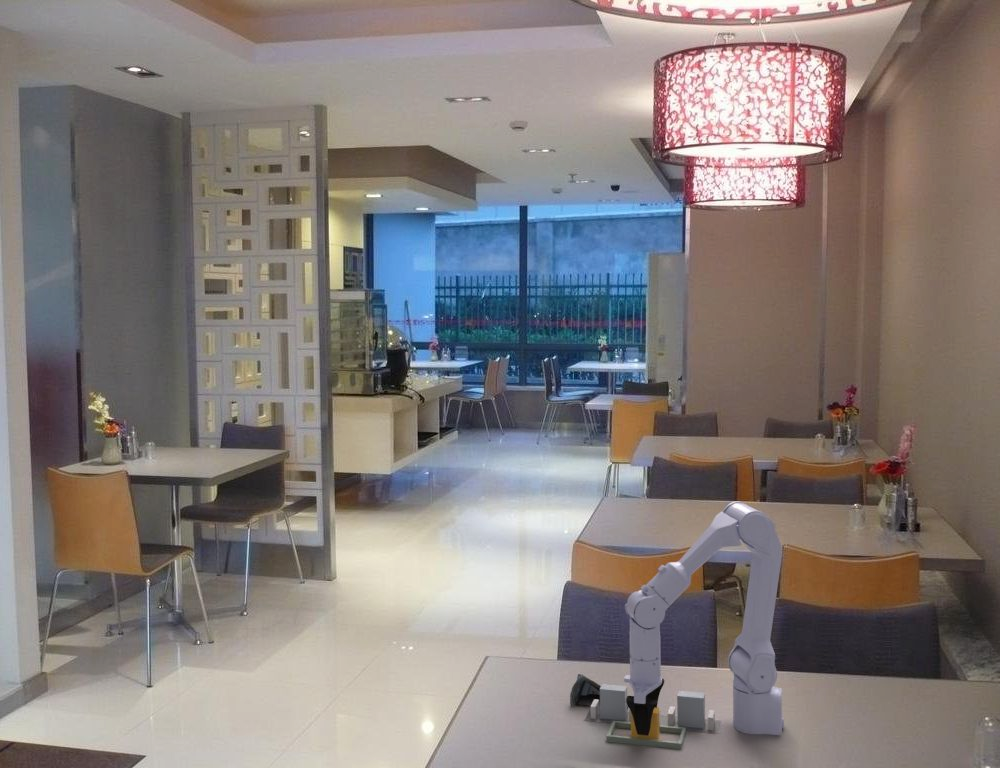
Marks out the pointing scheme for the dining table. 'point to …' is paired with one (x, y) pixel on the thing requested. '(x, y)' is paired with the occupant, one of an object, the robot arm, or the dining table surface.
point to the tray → (643, 741)
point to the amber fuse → (654, 727)
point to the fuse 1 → (613, 702)
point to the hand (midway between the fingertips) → (646, 725)
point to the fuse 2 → (691, 709)
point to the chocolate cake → (583, 690)
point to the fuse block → (669, 720)
